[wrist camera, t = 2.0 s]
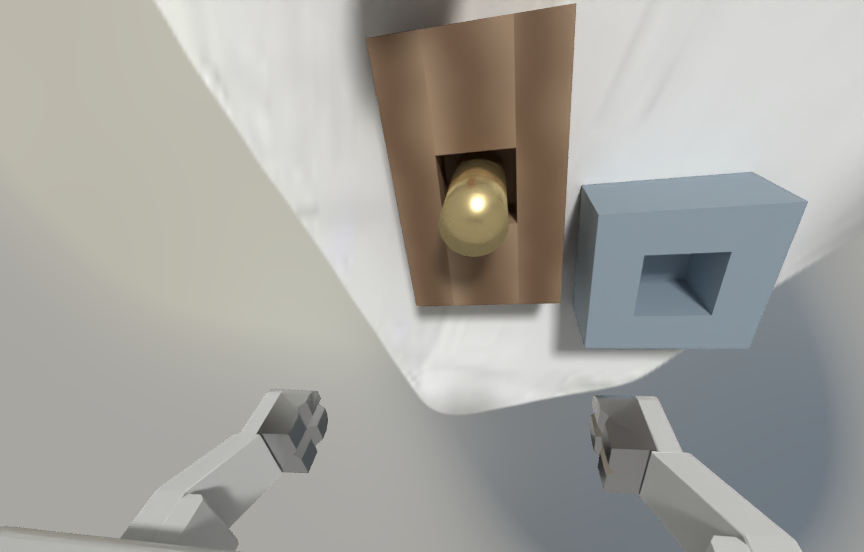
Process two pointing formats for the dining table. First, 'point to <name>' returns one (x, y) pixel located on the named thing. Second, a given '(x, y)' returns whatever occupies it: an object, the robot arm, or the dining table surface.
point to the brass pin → (476, 205)
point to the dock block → (680, 259)
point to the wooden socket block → (481, 146)
